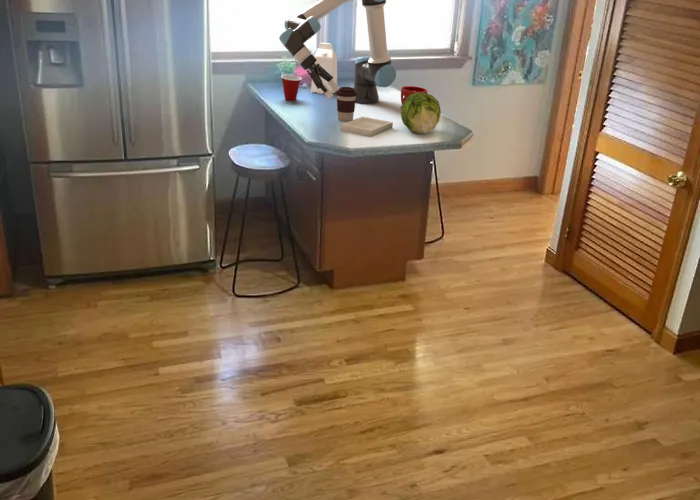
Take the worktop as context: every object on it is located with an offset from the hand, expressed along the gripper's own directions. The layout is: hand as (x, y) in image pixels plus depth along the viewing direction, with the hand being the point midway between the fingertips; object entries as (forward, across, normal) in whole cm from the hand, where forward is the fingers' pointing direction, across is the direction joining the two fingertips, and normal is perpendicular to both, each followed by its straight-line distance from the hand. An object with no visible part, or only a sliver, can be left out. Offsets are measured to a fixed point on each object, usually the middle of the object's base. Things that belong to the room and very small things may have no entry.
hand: (335, 94), depth 342 cm
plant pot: (+31, -31, +15) cm, 47 cm away
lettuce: (+38, +7, +22) cm, 45 cm away
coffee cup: (+12, -1, -5) cm, 13 cm away
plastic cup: (-14, -30, -31) cm, 45 cm away
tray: (+22, +13, +5) cm, 26 cm away
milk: (-7, -59, -24) cm, 64 cm away
